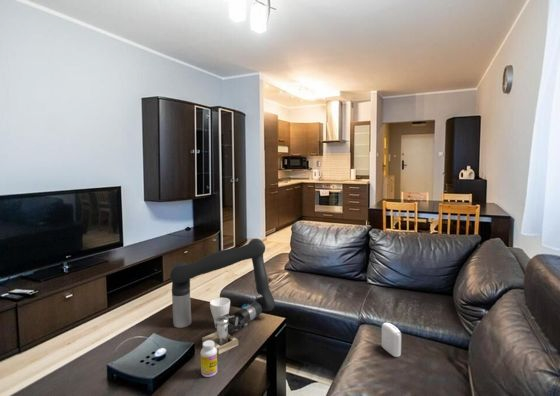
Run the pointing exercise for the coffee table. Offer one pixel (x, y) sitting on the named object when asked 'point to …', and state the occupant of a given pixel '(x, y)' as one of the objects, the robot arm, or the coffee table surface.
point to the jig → (220, 349)
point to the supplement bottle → (208, 359)
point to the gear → (247, 305)
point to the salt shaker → (222, 330)
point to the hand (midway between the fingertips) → (222, 328)
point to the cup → (219, 307)
